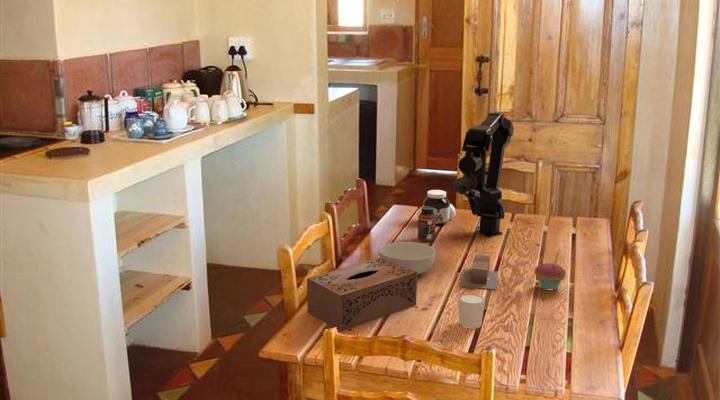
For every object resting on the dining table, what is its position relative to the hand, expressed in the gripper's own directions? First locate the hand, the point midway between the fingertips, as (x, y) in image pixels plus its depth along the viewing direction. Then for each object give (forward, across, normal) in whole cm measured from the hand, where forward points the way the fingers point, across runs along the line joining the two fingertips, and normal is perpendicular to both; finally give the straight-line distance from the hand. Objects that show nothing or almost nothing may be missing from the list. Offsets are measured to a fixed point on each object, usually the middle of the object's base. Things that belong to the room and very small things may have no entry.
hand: (474, 214), depth 240 cm
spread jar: (+12, -30, +9) cm, 34 cm away
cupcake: (+12, +36, -2) cm, 38 cm away
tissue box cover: (+13, +21, -56) cm, 61 cm away
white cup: (+12, +43, -37) cm, 58 cm away
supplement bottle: (+12, -16, -7) cm, 21 cm away
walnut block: (+10, +16, -10) cm, 21 cm away
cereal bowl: (+12, +5, -30) cm, 33 cm away
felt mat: (+12, +21, -15) cm, 29 cm away
